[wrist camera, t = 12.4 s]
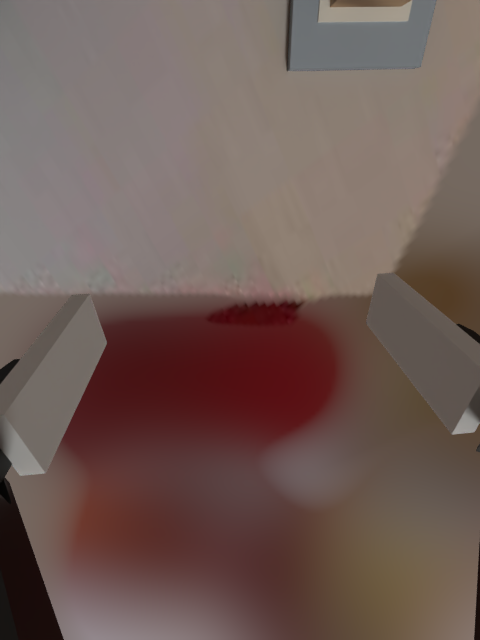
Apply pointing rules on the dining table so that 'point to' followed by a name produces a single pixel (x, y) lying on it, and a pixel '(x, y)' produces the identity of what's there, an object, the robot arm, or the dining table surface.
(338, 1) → the walnut block
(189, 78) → the dining table surface
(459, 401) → the robot arm
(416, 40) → the board
